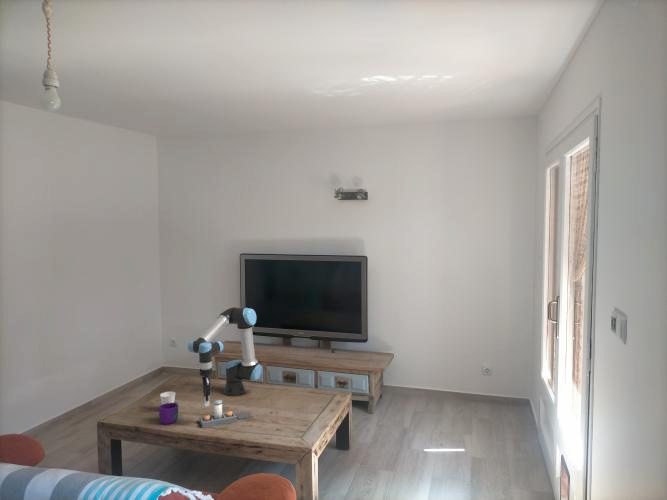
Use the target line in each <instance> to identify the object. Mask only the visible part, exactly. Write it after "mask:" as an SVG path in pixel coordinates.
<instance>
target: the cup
mask: <svg viewBox="0 0 667 500" xmlns="http://www.w3.org/2000/svg"><path fill="white" fill-rule="evenodd" d="M159 396H160V402H161V405H162V404H166V403H174V402H175V399H176V398H175V397H176V392H174V391H165V392H161V393H160V394H159Z"/></svg>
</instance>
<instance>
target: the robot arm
mask: <svg viewBox="0 0 667 500" xmlns="http://www.w3.org/2000/svg"><path fill="white" fill-rule="evenodd" d="M256 323H257V314H256V311H255V310H254V309H253V308H248V307H230V308H227V309H226V310H224V311H222V312H221V313H220V314H219V315H218V316H217V317H216V319H215V321H214V322H213V323H211V325H210V326H209V327H208V328H207V329H206V330H204V332H203V333H202V334H201V335H200V336H199V337H198V338H197V339H196V340H190V341H189V342H188V345H187V349H188V351H189V352H190V353H194V354H198V359H199V363H198V366H199V375H200V377H201V378H202V379H201V380H202V389H203V390H202V391H203V397H204V401H203V402H204V407H209V406H210V395H211V378H210V376H211V375H212V374H213V360H212V359H213V356H216V355H217V354H220V353H221V352H223V351H224V343H222V342H221V341H219V340H217V341H214V342H213V340H214V339H215V338H217V336H218V334H220V333H221V331H222V330H223V329H224V328H227V327H228V326H230V325H236V326H237V329H238V330H239V334H240V343H241V352H242V359H233V360H230V361H228V362H226V364H225V380H226V381H225V385H224V389H223V394H224V395H226V396H240V395H242V394H244V393H246V388H245V385H244V383H243V380H245V381H250V382H252V381H258V380H259V379H260V377H261V375H262V370H263V368H262V365H261V364H259V362H258V359H256V354H255V353H256V352H255V345H254V334H253V328H254V327H255V324H256Z"/></svg>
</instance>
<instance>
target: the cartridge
mask: <svg viewBox="0 0 667 500" xmlns="http://www.w3.org/2000/svg"><path fill="white" fill-rule="evenodd" d="M222 413H223V400H222V399H215V400H214V401H213V414H214V420H215V419H221V418H222Z"/></svg>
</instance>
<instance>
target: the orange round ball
mask: <svg viewBox="0 0 667 500" xmlns="http://www.w3.org/2000/svg"><path fill="white" fill-rule="evenodd" d="M210 415H211V414H205V415H203V416H204V421H209V420H210Z"/></svg>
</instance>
